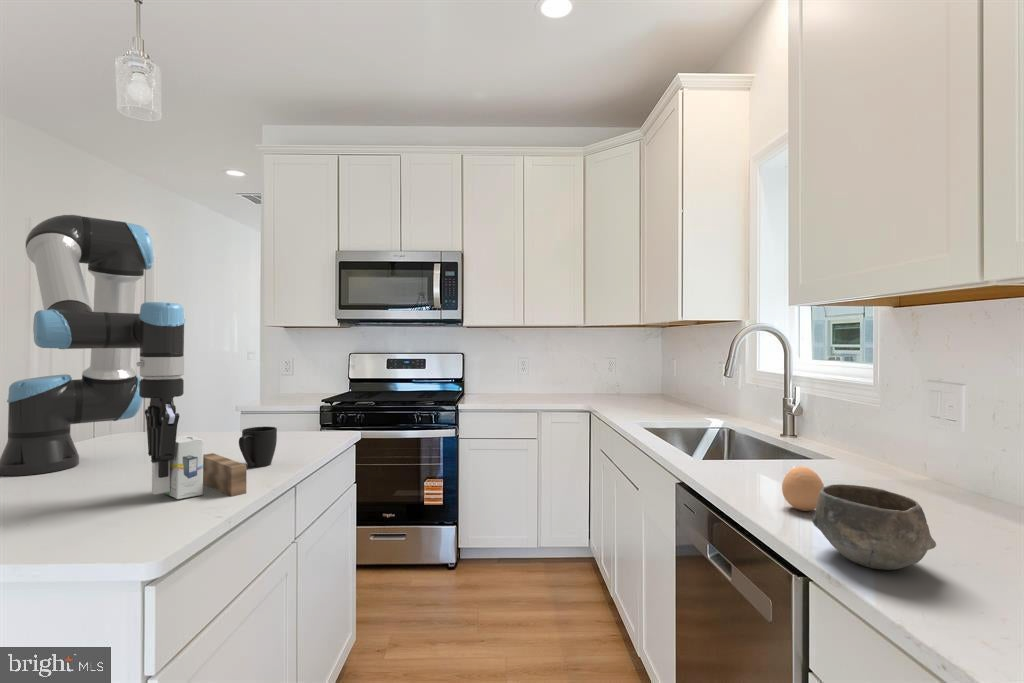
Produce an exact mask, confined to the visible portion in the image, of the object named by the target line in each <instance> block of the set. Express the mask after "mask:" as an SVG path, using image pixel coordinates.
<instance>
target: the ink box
mask: <svg viewBox="0 0 1024 683" xmlns="http://www.w3.org/2000/svg"><path fill="white" fill-rule="evenodd" d="M203 455H204V440H203V439H202V438H199V437H196V436H193V435H190V434H189V435H187V434H186V435H180V436H176V444H175V456H174V458H173V459H171V460H170V492H165V493H164V494H165V495H167V496H170V497H172V498H174V499H176V500H181V499H186V498H192V497H193V498H194V497H198V496H202V495H204V492H203V491H204V483H203Z"/></svg>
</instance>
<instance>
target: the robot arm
mask: <svg viewBox="0 0 1024 683" xmlns="http://www.w3.org/2000/svg"><path fill="white" fill-rule="evenodd" d="M25 252H26V255H27V257H28V258H29V260H30V261H31V262H32V263H33V264H34V267H35V271H36V277H37V282H38V286H39V292H40V296H41V301H42V307H43V309H41V310H37V311H36V312H35V313H34V316H33V322H32V324H33V325H32V326H33V328H32V332H33V342H34V344H35V345H36V346H37V347H38V348H40V349H41V348H42V349H58V350H71V349H73V350H76V349H77V350H81V349H83V350H85V349H90V362H89V363H90V365H89V367H87V368H86V369H85V370H83V371H82V373H81V379H72V377H71V375H70V374H56V375H48V376H47V375H46V376H38V377H32V378H31V377H30V378H25V379H19V380H15V381H13V382H12V383H11V384H10V385H9V388H8V395H7V396H8V397H7V400H6V403H8V407H7V408H8V410H7V412H8V413H7V442H6V445H5V447H4V449H3V452H2V454H1V455H0V476H10V477H11V476H12V477H14V476H31V475H39V474H46V473H53V472H58V471H59V472H60V471H63V470H68V469H71V468H74V467H77V466H78V465H79V464H80V454H79V453H78V450H77V448H76V444H74V442H73V439H72V435H71V426H72V425H76V424H78V425H79V424H87V423H89V424H90V423H99V422H100V423H101V422H110V421H111V422H117V421H120V420H127V419H132V418H133V417H135V416H136V415H137V414H138V412H140V409H141V406H142V403H143V399H150V401H149V405H148V406H147V409H145V410H144V415H145V420H146V434H147V449H148V450H147V451H148V453H147V454H148V456H149V457H150V459H151V460H150V461H151V466H152V467H151V472H152V473H151V494H153V495H158V494H165V492H170V460H171V459H173V458H174V456H175V444H176V437H177V431H178V423H179V420H180V413H178V412H177V411H176V410H177V409H176V408H177V407H176V405H175V403H174V402H175V401H174V399H175V397H176V398H177V397H178V398H179V397H181V396H183V395H184V386H185V385H184V384H185V383H184V382H185V380H184V379H183V378H182V377H181V376H184V375H185V356H184V354H185V352H184V351H185V350H184V349H185V322H186V319H185V310H184V306H183V305H182V304H180V303H175V302H163V301H162V302H161V301H160V302H159V301H158V302H157V301H152V302H151V301H148V302H147V301H145V302H143V303H142V304H141V305H140V309H139V313H135V305H136V304H135V303H136V289H137V281H138V280H140V279H142V278H143V277H144V276H145V274H144V273H145V270H146V271H147V270H150V269H152V267H153V263H154V249H153V243H152V239H151V236H150V233H149V232H148V230H147V229H146V228H145V227H144V226H142V225H139V224H135V223H131V222H126V221H119V220H111V219H103V218H96V217H90V216H89V217H88V216H82V215H78V214H62V215H61V214H60V215H57V216H52V217H49V218H47V219H44V220H42V221H41V222H40V223H38V224H36V225H35V226H34V227H33V228H31V230H30V232H29V233H28V234H27V237H26V240H25ZM80 264H87V271H88V273H90V274H91V275H92V276H93V278H94V290H93V291H94V292H93V293H94V295H93V307H92V303H91V300H90V296H89V294H88V289H87V286H86V282H85V279H84V275H83V273H82V270H81V266H80ZM132 349H139V361H137V362H136V367H139V376H140V377H139V376H137V375H138V374H137V370H135V369H134V368H132V367H131V365H132V364H131V363H132V362H131V361H132V360H131V359H132ZM141 377H142V378H143V379H142V378H141Z"/></svg>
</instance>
